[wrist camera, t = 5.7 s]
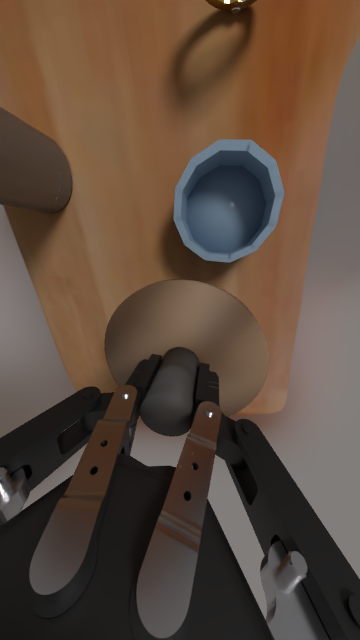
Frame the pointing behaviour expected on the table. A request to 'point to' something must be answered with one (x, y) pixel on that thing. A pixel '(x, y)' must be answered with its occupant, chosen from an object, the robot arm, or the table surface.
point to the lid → (187, 349)
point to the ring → (231, 4)
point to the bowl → (228, 200)
